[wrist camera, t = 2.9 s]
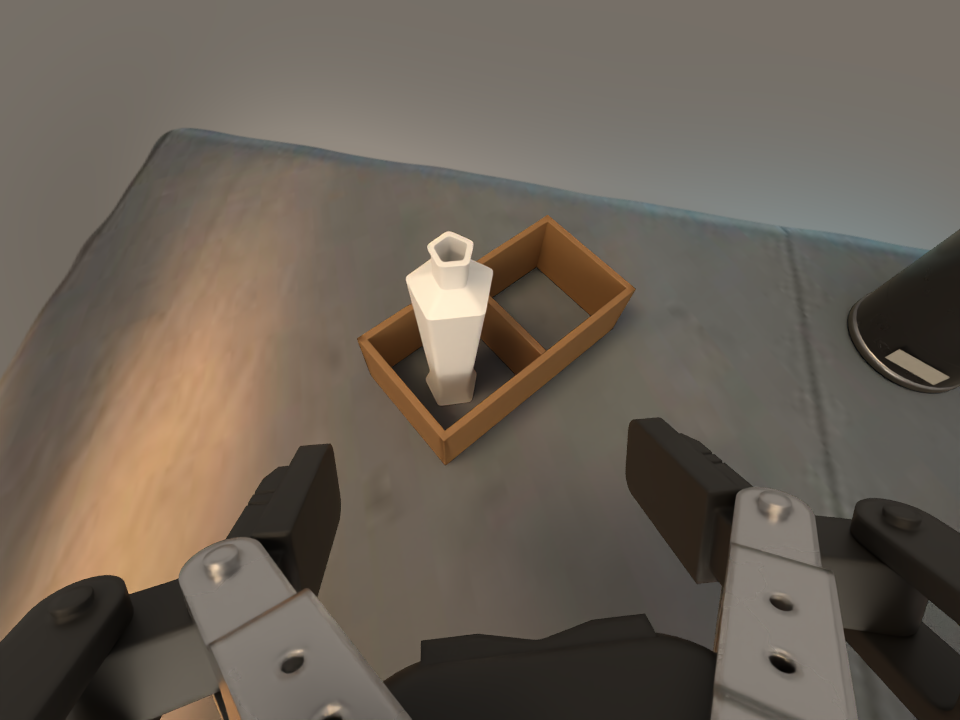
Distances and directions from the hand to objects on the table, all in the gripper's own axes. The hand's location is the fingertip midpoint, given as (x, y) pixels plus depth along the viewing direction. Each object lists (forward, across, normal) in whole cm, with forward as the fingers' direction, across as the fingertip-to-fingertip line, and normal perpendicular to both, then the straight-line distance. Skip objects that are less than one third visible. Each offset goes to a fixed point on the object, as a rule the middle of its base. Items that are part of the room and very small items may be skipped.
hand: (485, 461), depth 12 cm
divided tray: (+23, -4, +4) cm, 24 cm away
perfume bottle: (+22, 0, +6) cm, 23 cm away
